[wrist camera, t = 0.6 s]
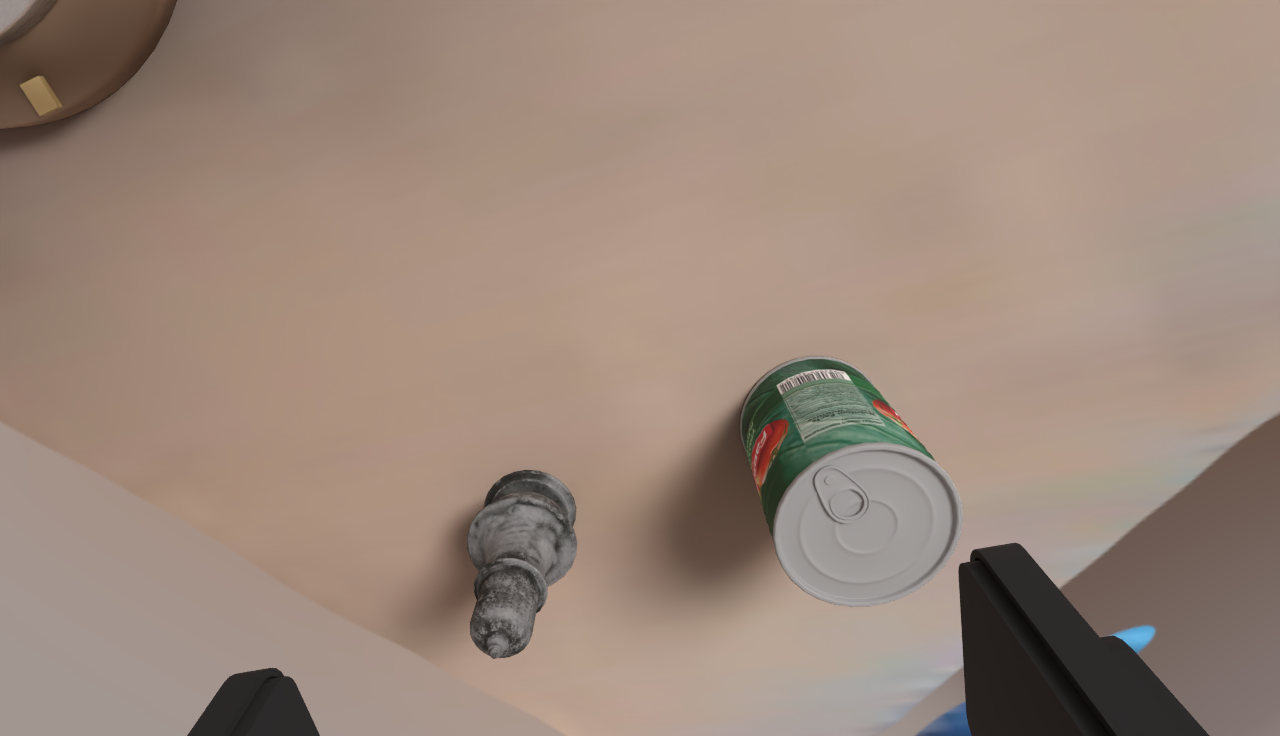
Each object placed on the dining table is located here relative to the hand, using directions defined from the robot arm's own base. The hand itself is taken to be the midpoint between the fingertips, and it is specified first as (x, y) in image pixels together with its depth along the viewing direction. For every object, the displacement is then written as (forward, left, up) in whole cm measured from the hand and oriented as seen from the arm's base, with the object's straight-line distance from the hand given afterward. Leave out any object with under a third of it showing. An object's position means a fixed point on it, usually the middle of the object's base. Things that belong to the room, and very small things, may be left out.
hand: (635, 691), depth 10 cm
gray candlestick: (+15, -7, -30) cm, 34 cm away
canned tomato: (+10, +9, -30) cm, 33 cm away
